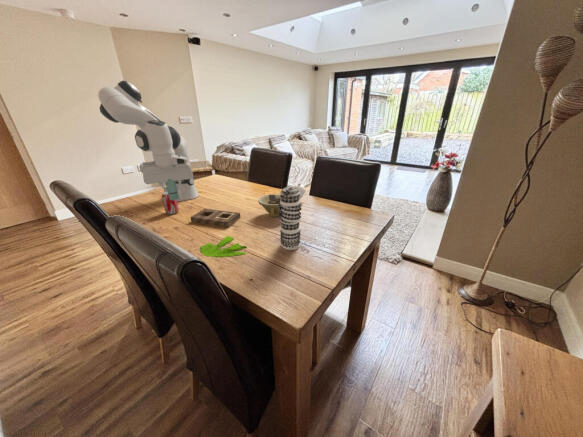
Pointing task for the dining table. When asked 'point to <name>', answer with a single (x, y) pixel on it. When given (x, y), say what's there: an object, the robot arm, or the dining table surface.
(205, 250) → the green glove
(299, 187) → the spinning top
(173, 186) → the peg
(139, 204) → the dining table surface
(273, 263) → the dining table surface
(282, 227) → the decorative candle
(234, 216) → the board
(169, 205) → the soda can
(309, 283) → the dining table surface
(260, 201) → the bowl
